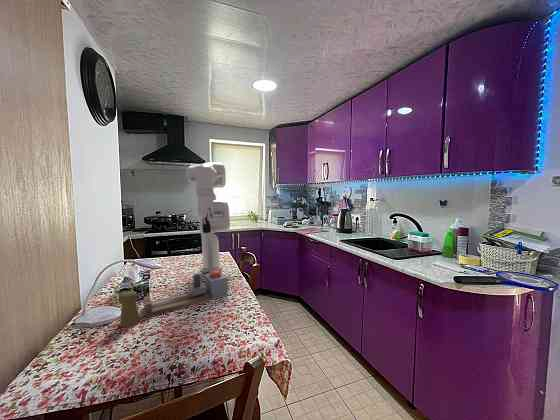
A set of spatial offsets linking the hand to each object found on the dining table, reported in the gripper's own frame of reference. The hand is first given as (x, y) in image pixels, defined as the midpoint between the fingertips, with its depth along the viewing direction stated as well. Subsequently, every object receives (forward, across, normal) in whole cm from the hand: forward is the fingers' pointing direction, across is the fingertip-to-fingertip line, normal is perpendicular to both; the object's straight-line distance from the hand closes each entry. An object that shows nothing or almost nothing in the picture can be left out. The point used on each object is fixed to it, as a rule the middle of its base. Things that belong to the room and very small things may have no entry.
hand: (206, 232), depth 109 cm
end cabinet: (+27, +7, +1) cm, 28 cm away
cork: (+27, +12, -32) cm, 44 cm away
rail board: (+27, +7, -15) cm, 32 cm away
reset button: (+21, +7, +1) cm, 22 cm away
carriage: (+25, +7, -7) cm, 27 cm away
